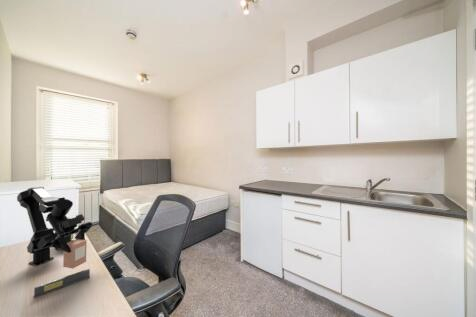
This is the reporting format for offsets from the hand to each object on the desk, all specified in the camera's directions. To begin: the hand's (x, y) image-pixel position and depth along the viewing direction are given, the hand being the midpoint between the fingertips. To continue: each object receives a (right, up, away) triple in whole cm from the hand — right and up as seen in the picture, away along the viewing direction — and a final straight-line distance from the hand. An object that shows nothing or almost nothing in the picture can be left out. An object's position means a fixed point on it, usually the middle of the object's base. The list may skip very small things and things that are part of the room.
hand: (77, 248), depth 80 cm
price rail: (+1, -11, -8) cm, 14 cm away
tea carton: (-1, -7, 0) cm, 7 cm away
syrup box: (-35, -11, +30) cm, 47 cm away
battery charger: (-30, -11, +23) cm, 39 cm away
